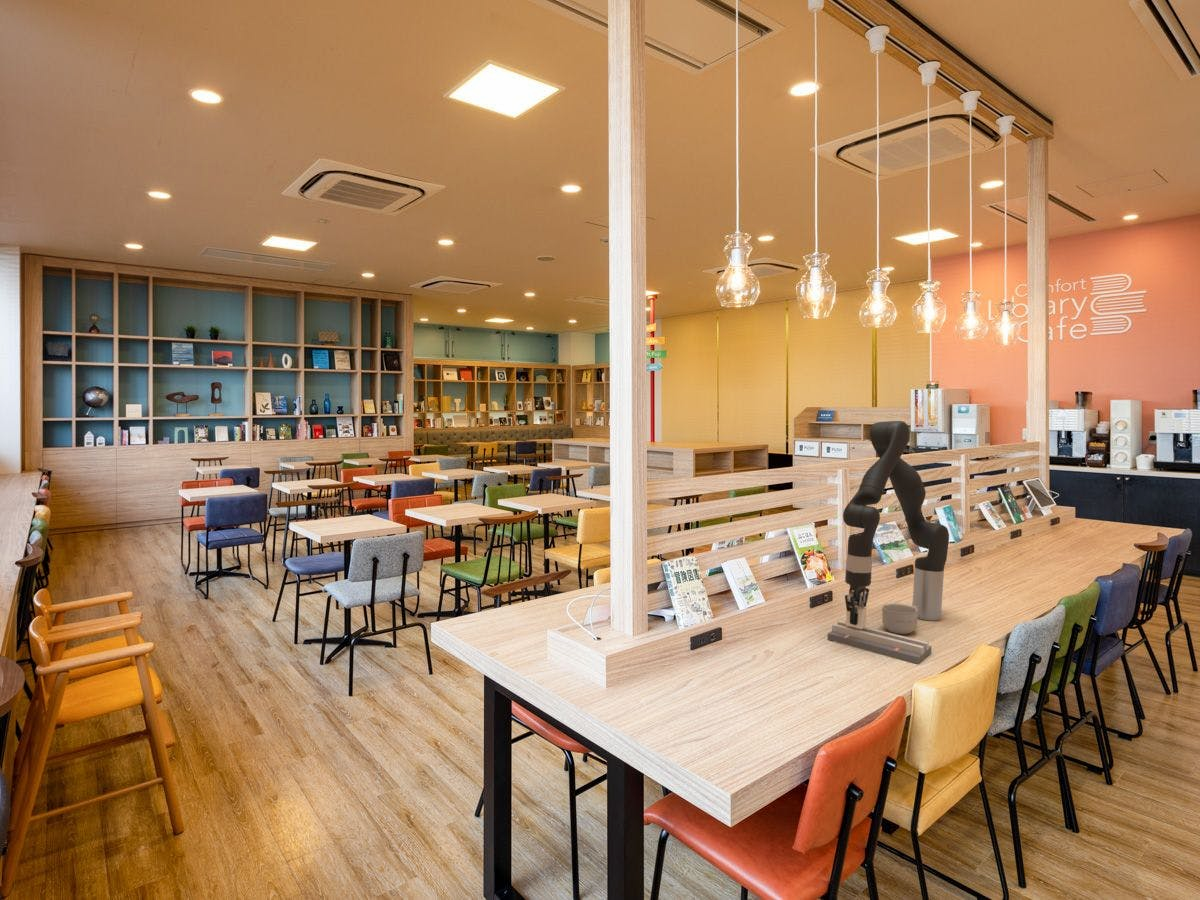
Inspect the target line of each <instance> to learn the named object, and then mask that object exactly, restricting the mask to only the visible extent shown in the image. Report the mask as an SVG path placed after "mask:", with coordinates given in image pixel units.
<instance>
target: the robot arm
mask: <svg viewBox="0 0 1200 900" xmlns="http://www.w3.org/2000/svg"><path fill="white" fill-rule="evenodd" d="M869 438H870V442H871V444H872V447H873V449H874V450H875V453H876V454H877V456H878V457H879V459H877V460H876V462H874V463H873V464H872V466H870V467H869V468H868V469H867V470H866V471H865V473H864V475H863V477H862V479H861V482H860V485H859V487H858V491H857V492H856V493H855V494H854V496H853V497H852V499H851V500H850V501H849V502H848V504H847V505H846V506H845V508H844V510H843V514H842V519H843V520H842V521H843V522H844V524H845V525H847V527H852V528H858V529H863V532H862V533H861V534H852V535H850V536H849V537H848V538H847V539H848V540H847V554H846V555H847V556H846V560H845V574H844V575H845V577H844V578H845V579H844V581H845V583H846V584H847V585H849V590H848V594H845V595H844V599H845V607H846V612H847V611H849V612H850V624H853V625H857V622H858V609H859V607H863V608H867V602H868V598H869V594H870V593H869V592H870V588H869V586H871V583H872V569H873V568H872V567H873V561H872V560H873V559H872V555H873V554H872V552H873V540H874V538H875V535H876V531H877V529H878V527H879V524H880V520H881V516H880V515H881V514H880V512H879V510H878V509H877V507H875V506H871V505H876V504H878V503H879V502H881V499H882V497H883V493H884V491H885V488H886V485H887V483H888V480H890V483H891V486H892V488H893V490H894V493H895V496H896V497H897V498H896V499H897V501H898V503H899V505H900V507H901V510H902V513H903V515H904V518H905V522H906V526H907V529H908V532H909V536H910V538H911V540H912V542H913V544H914V545H915V546H917V547H920V548H923V549H928V551H927V555H926V556H921V557H917V558H915V560H914V569H913V571H914V573H913V574H914V575H913V587H912V588H913V591H912V603H911V606H917V607H918V609H919V614H918V616H917V619H920V620H925V621H934V622H935V621H940V620H941V619H942V606H943V605H942V604H943V592H944V588H943V587H944V573H945V565H946V563H947V557H948V552H949V551H948V549H949V543H950V542H949V541H950V532H949V529H948V527H947V526H945V525H944V524H941V523H936V522H930V521H927V520H926V519H925V517H924V514H923V511H922V507H923V504H924V502H925V498H926V493H927V492H926V488H925V485H924V483H923V480H922V478H921V475H920V474H919V473H918V471H917V470H916V469H915V468H914V467H913V466H912V465H910V464H909V463H908V462H906V461H905V460H904V459H902V456H903V453H904V451H905V450H906V448H907V446H908V444H909V441H910V438H911V431H910V427H909V426H908V424H907V423H906V422H905V421H902V420H889V421H888V420H887V421H878V422H874V423H873V424H872V425H871V426H870V429H869Z"/></svg>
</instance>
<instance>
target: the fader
mask: <svg viewBox="0 0 1200 900" xmlns="http://www.w3.org/2000/svg"><path fill="white" fill-rule="evenodd" d="M845 615H846V616H845V622H846V625H847V626H848V627H849V628H853V629H857V630H861V631H863V628H864V627H866V625H867V623H866V622H867V607H864V608H863V607H859V609H858V622H857V625H853V624H850V612H849V611H847V610H846V614H845Z"/></svg>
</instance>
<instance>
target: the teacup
mask: <svg viewBox="0 0 1200 900" xmlns="http://www.w3.org/2000/svg"><path fill="white" fill-rule="evenodd" d="M881 609H882V610H881V614H882V615H881V616H882V617H881V618H882V625H883V626H884V628H885V629H887V630H888V632H889V633H892V634H896V635H908V634H911V633H912V632H913V631H915V630H916V629H917V625H918V618H917V616H918V614H919V609H918V607H917V606H912V605H909V604H908V605H907V604H903V603H886V604H883V605H882V606H881Z"/></svg>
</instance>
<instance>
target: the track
mask: <svg viewBox="0 0 1200 900" xmlns="http://www.w3.org/2000/svg"><path fill="white" fill-rule="evenodd" d="M827 641H831V642H834V643H838V644H842V645H846V646H850V647H853V648H857V649H861V650H863V651H864V650H865V651H868V652H871V653H876V654H879V655H883V656H886V657H890V658H894V659H897V660H901V661H906V662H908V663H911V664H917V665H919V664H920V663H921V662H923V661H924V660H925V659H926V658H927V657H928V656H929V655H931V654H932V646H931V645H930V644H929V643H930V642H929V641H928V642H927V641H924V640H920V639H915V638H913V637H909V636H908V637H907V636H905V635H901V634H897V633H893V632H889V631H884V630H880V629H876V628H872V627H867V626H865V627H864V628H863V631H861V630H857V629H853V628H849V627H848V626H847V625H846V621H843V620H838V621H837V623H832V625H831V631H830V632H828V633H827Z"/></svg>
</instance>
